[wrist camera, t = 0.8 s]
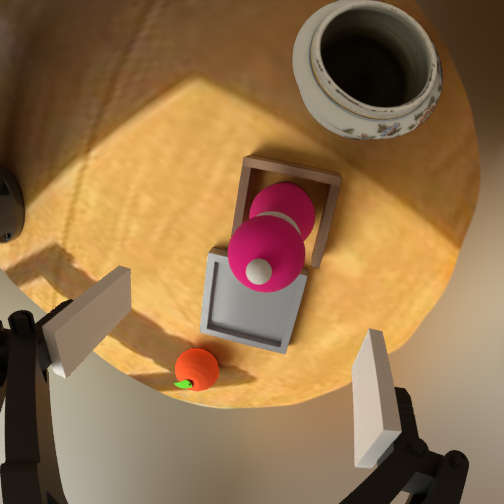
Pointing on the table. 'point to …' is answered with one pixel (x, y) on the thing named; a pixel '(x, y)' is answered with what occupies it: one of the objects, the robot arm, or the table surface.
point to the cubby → (294, 170)
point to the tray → (248, 307)
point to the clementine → (196, 370)
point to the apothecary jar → (366, 69)
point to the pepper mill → (272, 238)
